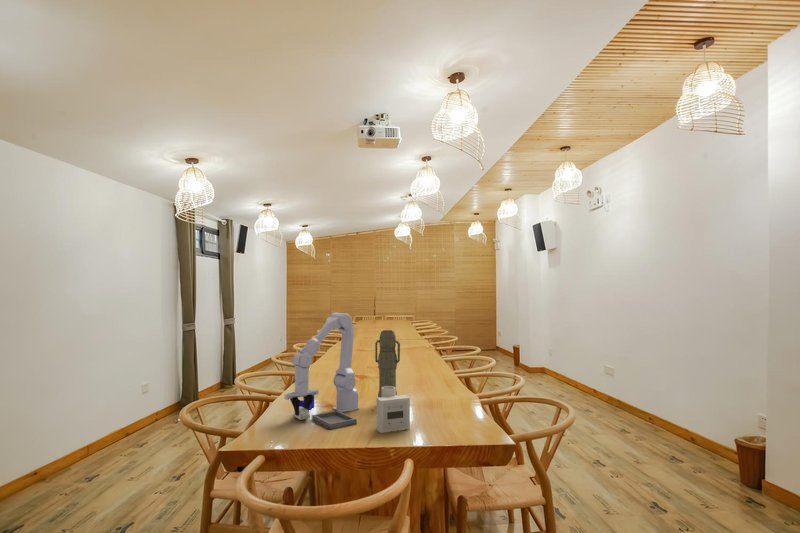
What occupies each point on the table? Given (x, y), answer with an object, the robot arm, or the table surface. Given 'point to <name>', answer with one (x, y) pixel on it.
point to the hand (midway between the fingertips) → (301, 414)
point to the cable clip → (310, 404)
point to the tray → (334, 419)
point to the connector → (302, 414)
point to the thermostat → (392, 411)
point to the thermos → (387, 359)
